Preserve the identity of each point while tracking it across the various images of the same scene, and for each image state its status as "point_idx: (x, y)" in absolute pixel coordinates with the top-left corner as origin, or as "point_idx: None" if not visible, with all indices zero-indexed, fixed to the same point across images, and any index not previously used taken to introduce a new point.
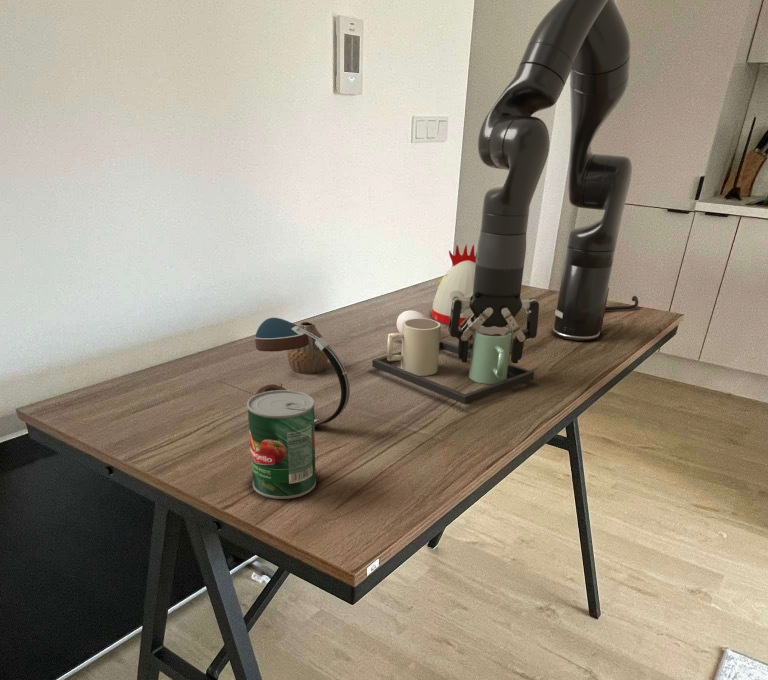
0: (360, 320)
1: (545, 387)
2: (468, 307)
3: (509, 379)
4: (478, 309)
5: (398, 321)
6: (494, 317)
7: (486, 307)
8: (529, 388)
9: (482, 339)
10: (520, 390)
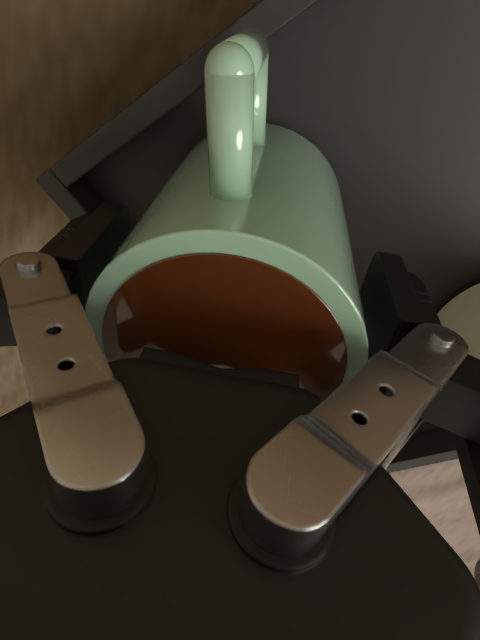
0: None
1: (10, 121)
2: None
3: (178, 87)
4: (394, 536)
5: None
6: (215, 426)
7: (314, 542)
8: (82, 119)
9: (341, 269)
10: (127, 99)
